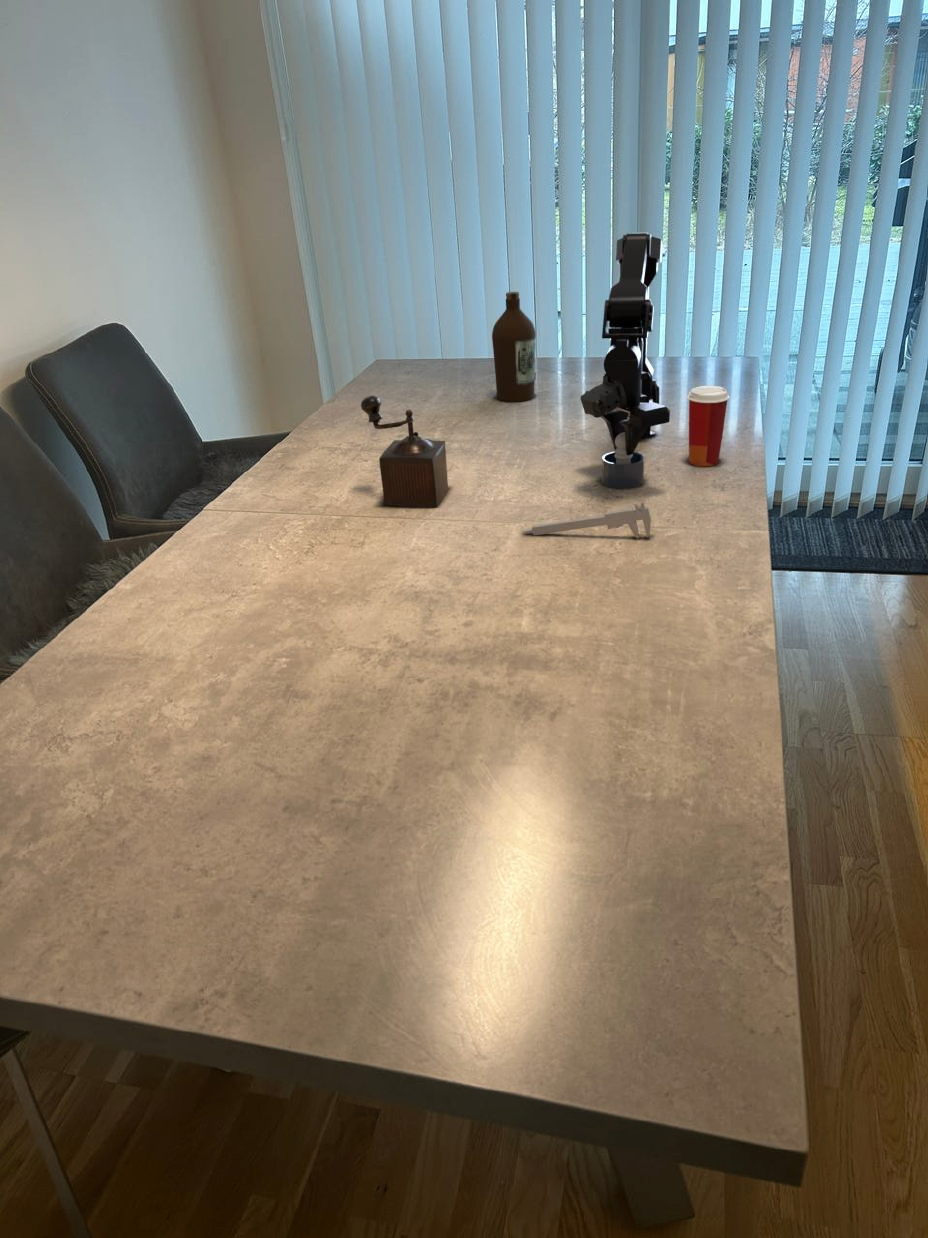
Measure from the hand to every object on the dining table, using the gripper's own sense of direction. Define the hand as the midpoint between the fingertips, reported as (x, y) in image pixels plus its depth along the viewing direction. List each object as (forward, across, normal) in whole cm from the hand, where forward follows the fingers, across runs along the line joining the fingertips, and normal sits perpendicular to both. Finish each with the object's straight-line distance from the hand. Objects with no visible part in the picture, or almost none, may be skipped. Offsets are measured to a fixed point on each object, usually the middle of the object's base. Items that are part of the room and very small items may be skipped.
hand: (623, 452), depth 165 cm
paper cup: (+6, +1, +19) cm, 20 cm away
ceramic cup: (+6, 0, 0) cm, 6 cm away
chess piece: (+6, 0, 0) cm, 6 cm away
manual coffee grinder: (+6, -18, -37) cm, 42 cm away
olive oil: (+6, -64, +15) cm, 66 cm away
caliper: (+6, +17, -20) cm, 27 cm away
